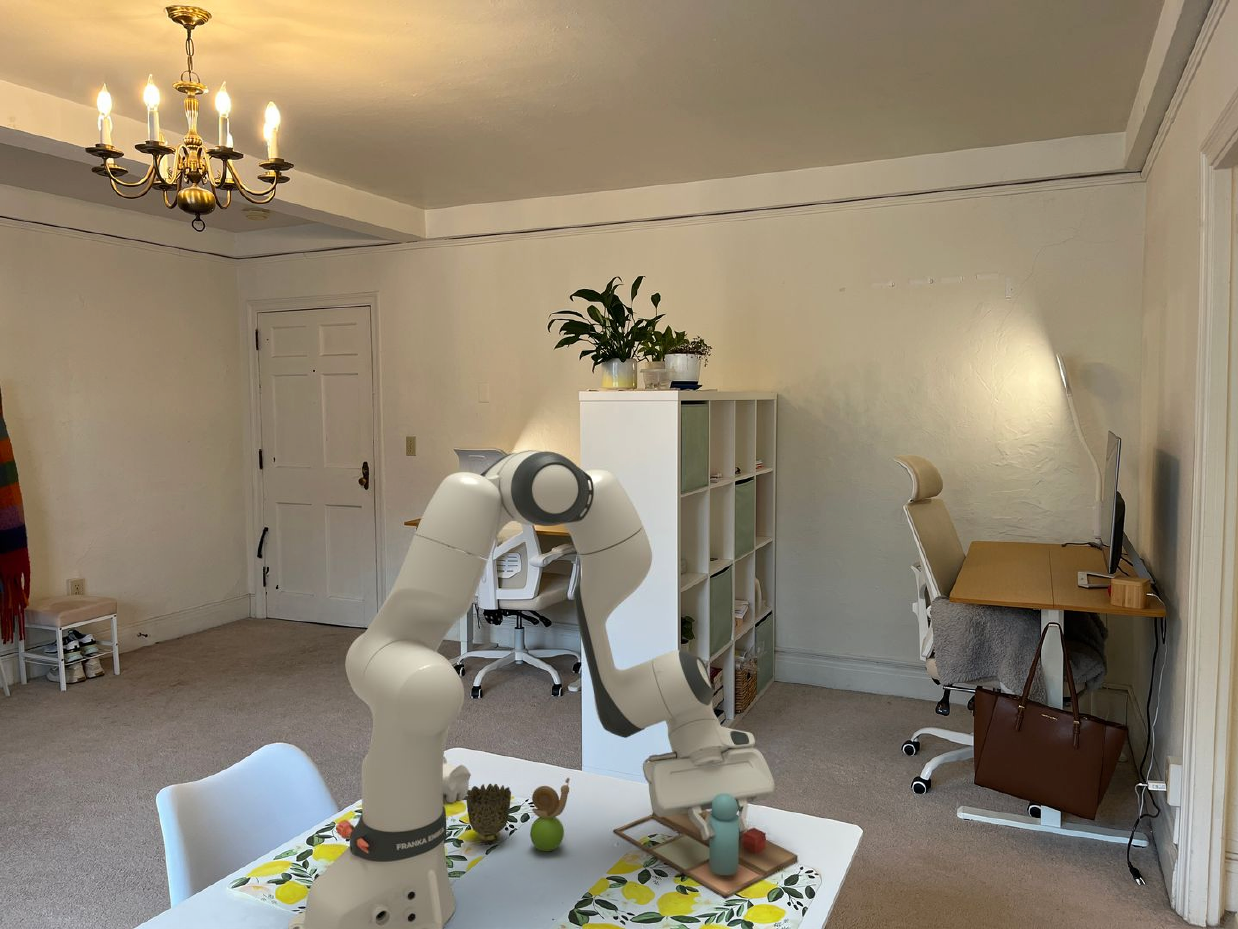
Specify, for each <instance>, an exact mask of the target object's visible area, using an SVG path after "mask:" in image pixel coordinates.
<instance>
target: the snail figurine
mask: <svg viewBox="0 0 1238 929" xmlns="http://www.w3.org/2000/svg"><path fill="white" fill-rule="evenodd" d="M565 783H566V784H564V785H562V786H560V797H559V795H558V792H557V791H556V790H555V789H554V788H553V787H551V786H548V785H540V786H538V787H537V788H536V789H534V791H533V792H532V796H531V797H532V798H531V799H532V804H533V806H534V807H535V808H534V807H533V808H531V811H532V813H534V814H535V816H537V818H536V819H535V820H533V823H532V824H531V827H530V830H529V831H530V833H529V834H530V839H531V842H532V845H534V846H535V848H537V849H538V850H540V851H543V852H550V851H553V850H554V851H555V849H557V848H558V847H559V846H560V845H561V843H562V841H563V839H564V836H565V830H564V825H563V823H562V821H560V819H559V818H558V816H560V815H561V814H562V813H563V811H564V810H565V808H566V804H567V800H568V796H569V793H570V787H569V783H570V777H567V778H566V779H565Z"/></svg>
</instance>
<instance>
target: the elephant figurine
mask: <svg viewBox="0 0 1238 929" xmlns="http://www.w3.org/2000/svg"><path fill="white" fill-rule="evenodd" d="M471 776H472V774H471V772H470V770H469V769H468V767H466V766H465V765H463V764H459V765H458V766H455V765H453V764H449V763H448V762H447V758H446V757H445V756H443V798H444V797H446V802H448V803H450V804H452V803H455V802H456V801H457V800H464V799H466V796H467V795H468V794H467V791H468V790H469V787H470V786H469V785H470V784H469V783H470V782H469V780H470V778H471Z"/></svg>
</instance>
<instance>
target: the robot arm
mask: <svg viewBox="0 0 1238 929" xmlns="http://www.w3.org/2000/svg"><path fill="white" fill-rule="evenodd" d="M423 512H424V513H423V514H422V517H421V518H420V521H419V523H418V526H417V528H416V530H415V533H414V535H413V538H412V541H411V542H410V546H409V548H408V551H407V554H406V556H405V558H404V561H403V563H402V566H401V568H400V571H399V572H398V575H397V578H396V580H395V582H394V585H393V586H392V589H391V590H390V593H389V594H388V596H387V597H386V599H385V601H384V602H383V604H382V606H381V607H380V608H379V610H378V612H377V613H376V615H375V616H374V618H373V619H372V621H371V622H370V624H369V626H368V628H367V629H366V630H365V632H364V633H362V634H360V635H359V636H358V637H357V638H356V639H355V640H354V641H353V642H352V644H351V645H350V647H349V649H348V650H347V653H346V656H345V657H346V658H345V662H344V665H345V666H344V667H345V671H346V675H347V679H348V682H349V684H350V686H351V689H352V691H353V692H354V693H355V695H356V696H358V698H359V699H360V700H362V701H363V702H364V703H365V704H366V705H368V707H369V708H370V712H371V716H372V721H373V722H372V723H373V724H372V734H371V739H370V743H369V747H368V751H367V754H366V755H365V757H364V758H363V760H362V763H361V803H362V806H361V807H362V808H361V810H362V811H361V812H362V813H361V815H360V817H359V819H358V821H357V824H356V825H353V824H351V822H350V821H349V820H347V819H344V820H340V821H339V822H338V823H337V825H336V829H335V830H336V833H337V834H338V835H339V836H341V838H342V839H344V840H348V839H349V846H348V847H347V848H346V849H345V850H344V851H343V852H342V853H341V854H340V855H339V856H338V857H337V858H336V859H335V860H334V861H333V862H332V863H331V864H330V865H329V866H328V867H327V868H326V869H325V870H324V871H322V872H321V874H320V875H319V876H318V877H316V878H315V879H314V881H313V882H312V883H311V885H310V887H309V890H308V894H307V897H306V898H307V899H306V902H305V910H304V911H302V912H300V913H299V914H296V915H295V916H293V917H292V918H291V919H290V920H289V924H288V927H287V928H288V929H444V926H445V925H446V924H447V922H448V921H449V919H450V918H451V917H452V915H453V914H454V911H455V909H456V903H457V902H456V899H455V896H454V893H453V889H452V885H451V882H450V878H449V871H448V866H447V858H446V848H445V844H446V843H447V842H446V841H447V811H446V809H447V808H446V807H445V805H444V799H443V798H444V797H443V756H444V755H445V750H446V749H445V748H446V744H447V739H448V734H449V732H450V731H449V730H450V727H451V725H452V724H453V723H454V722H455V721H456V720H457V718H458V716H459V715H460V713H461V711H462V709H463V705H464V700H465V688H464V684H463V681H462V678H461V677H460V675H459V674H458V672H457V671H456V669H455V668H454V667H453V665H452V664H451V662H450V661H449V659H447V658H446V657H445V655H444V656H443V655H442V654H440V653H439V652H438V649H439V647H440V646H441V644H442V642H443V640H444V639H445V638H446V636H447V634H448V633H449V632H450V630H451V629H452V628H453V626H454V625H455V624H456V623H457V622H458V621H459V620H461V619H462V618H463V617H465V615H467V614H468V612H469V611H470V609H471V607H472V604H473V601H474V600H475V596H476V594H477V592H478V591H477V590H478V589H479V586H480V583H481V580H482V578H483V574H484V572H485V569H486V566H487V564H488V560H489V558H490V555H491V553H492V549H493V547H494V544H495V543H494V542H495V540H496V539H497V538H498V536H499V535H500V534H499V533H500V532H501V531H502V530H503V528H504V527H505V526H507V525H508V524H509V523H511V522H517V523H519V524H522V525H526V526H541V527H554V526H559V525H562V526H563V527H564V528H565V530H566V531H567V533H568V534H569V535H570V537H571V540H572V543H573V545H574V548H575V550H576V552H577V556H578V558H579V561H580V566H581V575H580V576H581V577H580V581H579V582H578V583H577V585H575V587H574V592H573V595H574V596H573V601H574V609H575V615H576V621H577V624H578V629H579V630H578V631H579V634H580V639H581V642H582V647H583V651H584V654H585V659H586V662H587V667H588V672H589V676H590V680H591V684H592V690H593V695H594V696H593V697H594V708H595V711H596V715H597V718H598V720H599V722H600V724H601V726H602V727H603V729H604V730H605V731H606V732H608V733H610V734H613V735H614V736H617V737H621V738H624V739H625V738H626V739H627V738H629V737H631V736H633V735H635V734H637V733H640V732H641V731H644V730H645V729H647V728H649V727H652V726H655V725H656V724H657V725H658V724H659V723H660V724H661V723H663V722H665V723H666V727H667V737H668V741H669V745H670V748H671V749H670V750H671V751H670V752H666V753H661V754H652V755H649V756H648V758H647V759H645V760H644V762H643V763H642V771H643V776H644V778H645V780H646V781H647V783H648V792H649V798H650V799H649V800H650V805H651V806H650V807H651V809H652V813H653V812H654V813H655V814H656V815H657V816H658V817H665V816H671V815H677V814H683V813H688V815H689V818H690V820H691V821H692V822H693V823H694V824H695V826H696V827H697V828H698V829H700V832H701V835H702V838H703V840H708V839H712V838H713V837H714V836H715V832H714V830H713V827H712V824H707V823H706V822H705V821H704V820H703V818H702V817H701V816H700V814H701V813H702V811H701V810H707V811H708V810H710V809H711V810H712V808H711V805H712V801H713V799H714V798H715V797H716V796H717V795H719V794H721V793H727V794H730V795H731V796H733V797H734V798H735V800H736V802H737V805H738V811H737V812H738V814H737V815H738V816H739V834H741V833H746V832H747V831H748V830H749V826H748V823H747V820H746V817H747V814H748V807H749V804H750V803H754V802H760V801H761V802H762V801H765V800H768V798H770V797H771V796H772V795H773V793H774V791H775V787H776V784H775V780H774V778H773V777H774V776H773V774H772V773H771V770H770V767H769V765H768V764H767V763H768V762H767V761H766V759H765V758H764V757H765V756H764V755H763V754H762V752H761V751H760V750H759V749H756V748H755V747H754V746H755V744H756V739H755V736H754V734H752V733H751V732H749V731H744V730H738V729H734V728H729V727H725V726H722V725H721V721H720V719H719V718H718V717H717V716H716V714H715V711H714V707H713V697H714V693H715V691H714V689H713V688H714V687H713V685H712V682H711V679H710V676H709V673H708V668H707V667H706V664H705V662H704V661H703V660H702V658H701V657H699V656H698V655H696V654H693V653H692V652H690V651H688V650H685V649H682V648H681V649H678V650H672V651H668V652H665V653H664V654H662V655H659V656H656V657H653V658H652V659H650V660H647V661H644V662H642V663H639V664H636V665H634V666H631V667H628V668H625V669H619V668H617V667H616V666H615V662H614V657H613V653H612V652H613V651H612V649H611V644H610V640H609V636H608V631H607V628H606V627H607V626H606V624H607V621H608V618H609V617H610V615H611V614H612V613H613V612H614V611H615V610H616V609H617V608H618V607H619V606H620V605H621V604H622V603H623V602H624V601H625V600H626V599H627V598H629V597H630V596H631V595H632V594H633V593H634V592H635V591H636V590H637V589H639V587H640V586H641V584H643V582H644V581H645V579H646V577H647V575H648V574H649V572H650V569H651V566H652V564H653V563H652V562H653V552H652V548H651V544H650V540H649V537H648V534H647V532H646V529H645V527H644V524H643V523H642V522H643V521H642V520H641V518H640V515H639V514H638V511H637V508H636V507H635V505H634V503H633V501H632V499H631V498H630V496H629V495H628V493H627V491H626V490H625V488H624V487H623V485H622V484H621V482H620V481H619V479H618V478H617V477H616V475H615V474H613V473H612V472H610V471H609V470H606V469H597V468H595V469H594V468H593V469H589V470H585V471H584V470H583V469H581V468H580V467H579V466H577V464H576V463H574V461H572V460H571V459H569V458H568V457H565V455H563V454H560V453H557V452H555V451H554V452H553V451H540V450H536V449H535V450H534V449H533V450H532V449H529V450H523V451H518V452H512V453H508V454H506V455H503V456H502V457H500V458H499V459H497V460H496V461H495V462H493V463H492V464H491V465H490V466H489V467H488V468H486V469H485V470H484V471H483V472H482V473H481V474H478V473H474V472H470V471H469V472H468V471H463V472H461V471H460V472H454V473H451V474H450V475H448V476H446V477H445V478H444V479H443V480H442V481H441V483H440V485H439V486H438V488H437V489H436V491H435V493H434V494H433V496H432V497H431V499H430V501H429V503H428V505H427V507H426V509H425V511H423ZM444 757H445V756H444ZM748 803H749V804H748Z"/></svg>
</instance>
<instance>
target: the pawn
mask: <svg viewBox="0 0 1238 929" xmlns="http://www.w3.org/2000/svg"><path fill="white" fill-rule="evenodd" d="M711 808H712V809H711V810H712V813H711V814H710V824H712V827H713V830H714V832H715V836H714V837H713V838H712V839H710V851H709V868H710V870H711V871H712V872H714V873H716V874H719V875H732V874H735V873H736V872H737V871H738V851H739V816H738V815H739V814H738V812H739V811H738V805H737V802H736V800H735V798H734V797H733V796H731V795H730V794H727V793H721V794H719V795H717V796H716V797H715V798H714V799H713V801H712V805H711Z"/></svg>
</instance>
